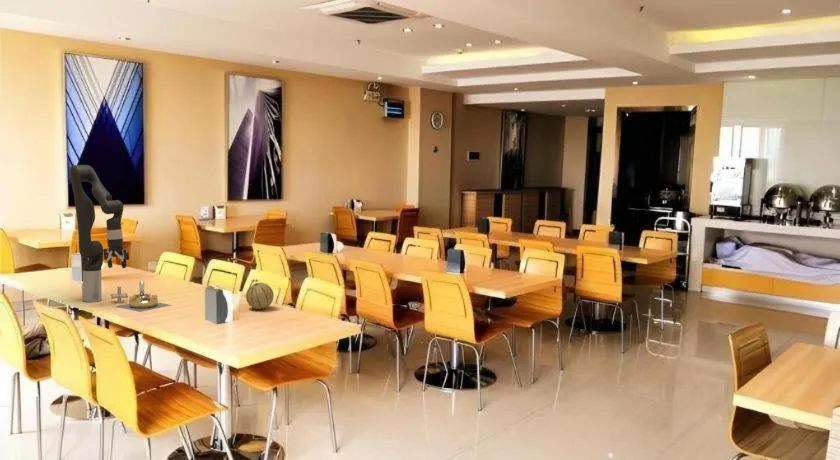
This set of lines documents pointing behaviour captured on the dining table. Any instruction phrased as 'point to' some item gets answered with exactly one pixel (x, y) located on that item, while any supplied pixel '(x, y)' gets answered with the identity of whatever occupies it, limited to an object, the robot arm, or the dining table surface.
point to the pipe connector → (119, 295)
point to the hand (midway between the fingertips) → (117, 267)
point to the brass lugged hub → (143, 299)
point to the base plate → (143, 308)
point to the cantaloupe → (259, 296)
